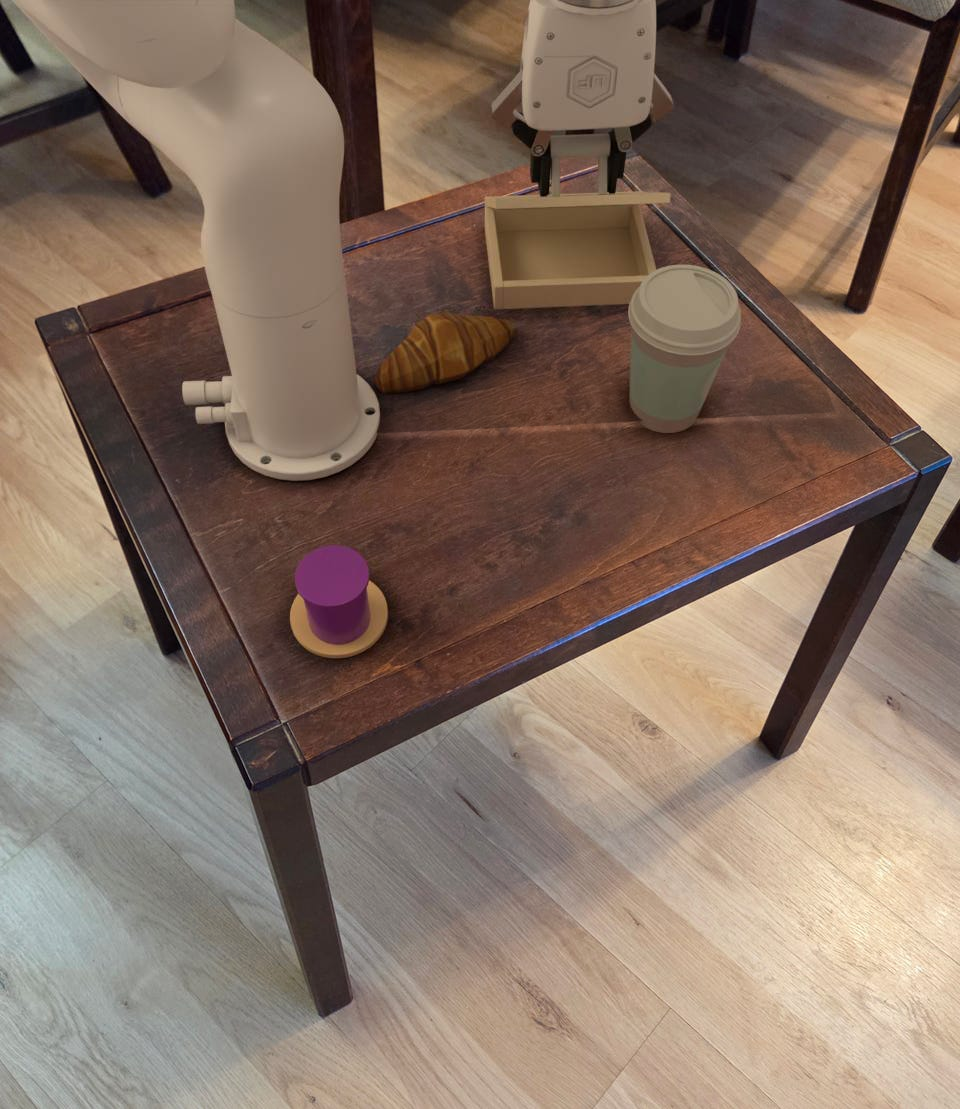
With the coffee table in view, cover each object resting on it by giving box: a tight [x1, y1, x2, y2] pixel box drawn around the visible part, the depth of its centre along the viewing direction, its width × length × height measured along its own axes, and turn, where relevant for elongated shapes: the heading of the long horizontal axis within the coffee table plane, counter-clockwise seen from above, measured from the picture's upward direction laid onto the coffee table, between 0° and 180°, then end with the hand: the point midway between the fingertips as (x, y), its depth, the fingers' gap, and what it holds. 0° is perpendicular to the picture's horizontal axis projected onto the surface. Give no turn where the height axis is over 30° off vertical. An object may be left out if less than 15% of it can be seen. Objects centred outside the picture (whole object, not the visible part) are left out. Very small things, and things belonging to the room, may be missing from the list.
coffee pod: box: [294, 544, 370, 645], centre depth 73 cm, size 5×5×6 cm
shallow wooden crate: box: [484, 204, 657, 310], centre depth 97 cm, size 12×15×3 cm
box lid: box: [484, 133, 671, 209], centre depth 92 cm, size 12×15×6 cm
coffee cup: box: [627, 264, 742, 434], centre depth 84 cm, size 9×8×12 cm
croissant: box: [373, 311, 516, 395], centre depth 89 cm, size 14×7×5 cm, turn 122°
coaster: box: [289, 580, 389, 659], centre depth 76 cm, size 7×7×1 cm
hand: (575, 183), depth 91 cm, fingers closed on box lid, 5 cm apart
